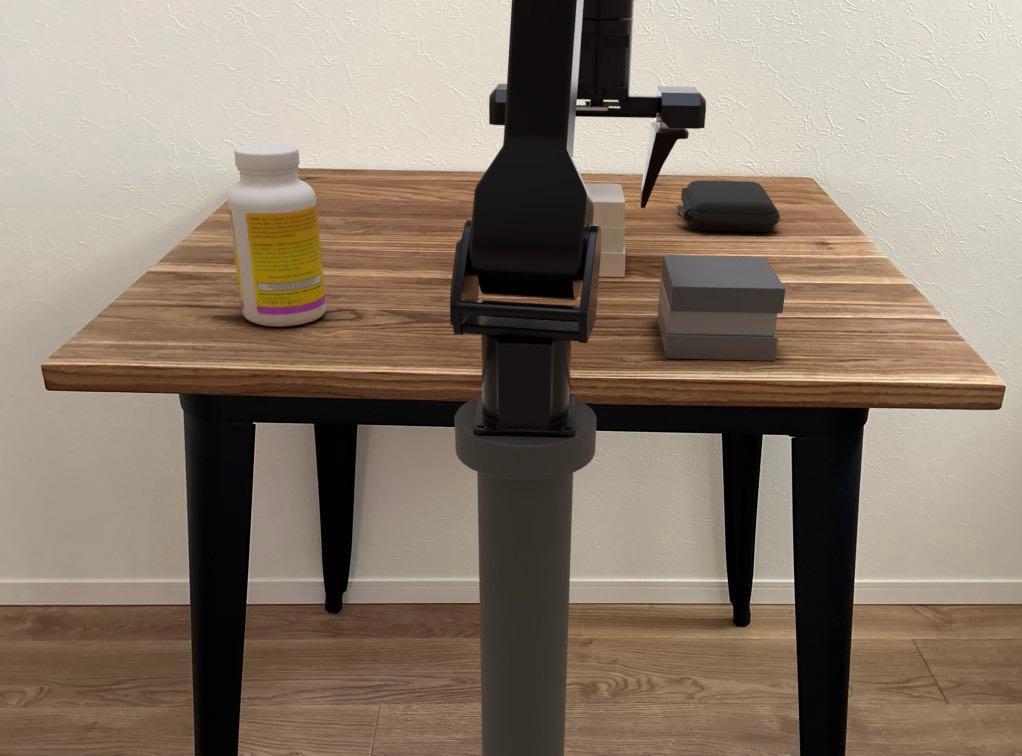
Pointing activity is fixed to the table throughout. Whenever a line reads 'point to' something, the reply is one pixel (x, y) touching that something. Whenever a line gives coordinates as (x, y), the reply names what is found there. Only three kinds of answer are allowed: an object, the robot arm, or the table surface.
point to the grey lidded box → (719, 307)
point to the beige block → (612, 252)
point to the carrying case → (728, 206)
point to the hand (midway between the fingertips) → (592, 206)
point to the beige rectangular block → (607, 204)
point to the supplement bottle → (275, 238)
